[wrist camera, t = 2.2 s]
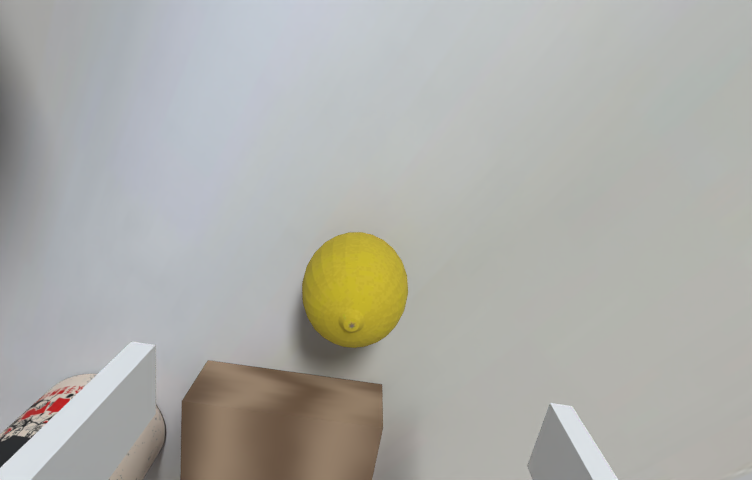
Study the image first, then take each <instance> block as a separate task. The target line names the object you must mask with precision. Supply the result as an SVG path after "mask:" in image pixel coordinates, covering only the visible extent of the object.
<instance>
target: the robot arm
mask: <svg viewBox="0 0 752 480" xmlns="http://www.w3.org/2000/svg"><path fill="white" fill-rule="evenodd" d="M155 414H156V345H152V344H145V343H139V342H132V341H131V342H130V343H129V344H128V345H127V346H126V347H125V348H124V349H123V350H122V351H121V352H120V353H119V354H118V355H117V356H116V357H115V358H114V359H113V360H112V361H111V362H110V363H109V364H108V365H107V366H106V367H104V368H103V369H102V370H101V371H100V372H99V373H98V374H97V375H96V376H95V377H94V378H93V379H92V380H91V381H90V382H89V383H88V384H87V385H86V386H85V387H84V388H83V389H82V390H81V391H80V392H78V393H77V394H76V395H75V396H74V397H73V398H72V399H71V400H70V401H69V402H68V403H67V404H66V405H65V406H64V407H63V408H62V409H61V410H60V411H59V412H58V413H57V414H56V415H55V416H54V417H53V418H51V419H50V420H49V421H48V422H47V423H46V424H45V425H44V426H43V427H42V428H41V429H40V430H39V431H38V432H37V433H36V434H35V435H34V436H33V437H32V438H30V437H23V436H15V435H13V436H11V437H9V438H8V439H6V440H4V441H2V442H1V443H0V480H108V479H109V478H110V476H111V475H112V474H113V472H114V471H115V470H116V468H117V467H118V465H119V464H120V463H121V461H122V460H123V458H124V457H125V456H126V454H127V453H128V452H129V450H130V449H131V447H132V446H133V445H134V443H135V442H136V440H137V439H138V438H139V436H140V435H141V434H142V432H143V431H144V429H145V428H146V427H147V425H148V424H149V422H150V421H151V420H152V418H153V417H154V415H155ZM528 469H529V471H530V474H531V476H532V479H533V480H618V479H617V477H616V475H615V474H614V472H613V471H612V469H611V467H610V466H609V464H608V463H607V461H606V459H605V458H604V456H603V455H602V453H601V451H600V450H599V448H598V447H597V445H596V443H595V442H594V440H593V439H592V437H591V435H590V434H589V432H588V431H587V429H586V427H585V426H584V424H583V423H582V421H581V420H580V418H579V416H578V415H577V413H576V412H575V410H574V408H573V407H572V406H567V405H561V404H554V403H550V405H549V407H548V410H547V413H546V416H545V418H544V421H543V424H542V427H541V429H540V432H539V435H538V438H537V441H536V443H535V446H534V449H533V452H532V454H531V457H530V460H529V463H528Z"/></svg>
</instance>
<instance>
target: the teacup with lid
mask: <svg viewBox="0 0 752 480" xmlns="http://www.w3.org/2000/svg"><path fill="white" fill-rule="evenodd" d="M96 375H97V374H82V375H77V376H73V377H70V378H67V379H65V380H63V381H61V382H59V383H58V384H56V385H55V386H54V387H52V388H51V389H50V390H49V391H48V392H47V393H46V394H44V395H43V396H42V397H41V398H40V399H39V400H38V401H37V402H36V403H34V404H33V405H32V406H31V407H30V408H29V409H28V410H27V411H26V412H24V413H23V414H22V415H21V416H20V417H19V418H18V419H17V420H16V421H14V422H13V423H12V424H11V425H10V426H9V427H8V428H7V429H6V430H4V431H3V432H2V433H1V434H0V443H1V442H2V441H4V440H6V439H8V438H9V437H11V436H13V435H15V436H23V437H30V438H32V437H33V436H34V435H35V434H36V433H37V432H38V431H39V430H40V429H41V428H42V427H43V426H44V425H45V424H46V423H47V422H48V421H49V420H50V419H51V418H53V417H54V416H55V415H56V414H57V413H58V412H59V411H60V410H61V409H62V408H63V407H64V406H65V405H66V404H67V403H68V402H69V401H70V400H71V399H72V398H73V397H74V396H75V395H76V394H77V393H78V392H80V391H81V390H82V389H83V388H84V387H85V386H86V385H87V384H88V383H89V382H90V381H91V380H92V379H93V378H94V377H95V376H96ZM164 439H165V425H164V421H163V417H162V415H161V413H160V411H159V409H158V407H157V406H156V414H155V415H154V417H153V418H152V420H151V421H150V422H149V424H148V425H147V427H146V428H145V429H144V431H143V432H142V434H141V435H140V436H139V438H138V439H137V440H136V442H135V443H134V445H133V446H132V447H131V449H130V450H129V452H128V453H127V454H126V456H125V457H124V458H123V460H122V461H121V463H120V464H119V465H118V467H117V468H116V470H115V471H114V472H113V474H112V475H111V476H110V478H109V479H108V480H143V478H144V477H145V475H146V473H147V472H148V470H149V468H150V467H151V465H152V463H153V462H154V460H155V459H156V457H157V455H158V454H159V452H160V450H161V448H162V446H163V443H164Z"/></svg>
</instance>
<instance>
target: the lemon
mask: <svg viewBox="0 0 752 480" xmlns="http://www.w3.org/2000/svg"><path fill="white" fill-rule="evenodd" d="M407 295H408V284H407V275H406V272H405V269H404V266H403V263H402V261H401V259H400V258H399V256H398V255H397V253H396V252H395V250H394V249H393V248H392V247H391V246H390V245H388V244H387V243H386V242H385V241H384V240H382V239H380V238H378V237H376V236H374V235H371V234H366V233H362V232H352V233H346V234H342V235H338V236H336V237H334V238H332V239H330V240H329V241H327V242H325V243H324V244H323V245H322V246H321V247H320V248H319V249H318V250H317V251H316V252H315V253H314V255H313V257H312V258H311V260H310V262H309V263H308V265H307V268H306V271H305V275H304V279H303V283H302V296H303V304H304V308H305V311H306V314H307V317H308V319H309V321H310V322H311V324H312V326H313V327H314V329H315V330H316V331H317V332H318V333H319V334H320V335H321V336H322V337H324V338H325V339H327V340H329V341H330V342H332V343H334V344H337V345H340V346H343V347H352V348H357V347H364V346H368V345H371V344H373V343H376V342H378V341H380V340H381V339H383V338H384V337H386V336H387V335H388V334H389V333H390V332H391V331H392V330H393V328H394V327H395V326H396V325H397V323H398V321H399V319H400V318H401V316H402V314H403V312H404V309H405V304H406V300H407Z"/></svg>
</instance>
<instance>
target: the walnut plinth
mask: <svg viewBox="0 0 752 480" xmlns="http://www.w3.org/2000/svg"><path fill="white" fill-rule="evenodd" d="M382 430H383V403H382V384H374V383H367V382H360V381H353V380H346V379H338V378H331V377H324V376H317V375H309V374H302V373H295V372H288V371H281V370H273V369H266V368H259V367H252V366H245V365H237V364H230V363H223V362H216V361H207V363H206V364H205V366H204V367H203V369H202V370H201V372H200V373H199V375H198V377H197V378H196V380H195V381H194V383H193V384H192V386H191V388H190V389H189V391H188V392H187V394H186V395H185V397H184V399H183V400H182V422H181V480H372V477H373V472H374V468H375V463H376V458H377V454H378V449H379V444H380V439H381V435H382Z"/></svg>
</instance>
